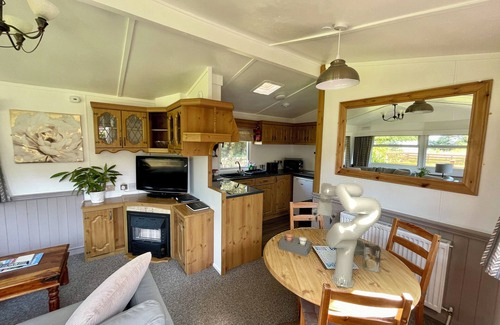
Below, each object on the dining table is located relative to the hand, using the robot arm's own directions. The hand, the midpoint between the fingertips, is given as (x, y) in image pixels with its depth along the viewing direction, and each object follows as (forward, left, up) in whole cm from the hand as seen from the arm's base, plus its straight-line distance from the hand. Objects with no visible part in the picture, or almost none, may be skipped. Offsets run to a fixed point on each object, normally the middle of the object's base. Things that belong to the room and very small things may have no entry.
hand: (323, 222), depth 155 cm
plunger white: (-2, +14, -22) cm, 26 cm away
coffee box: (+1, -33, -26) cm, 42 cm away
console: (-2, +19, -26) cm, 32 cm away
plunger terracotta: (-2, +25, -21) cm, 33 cm away
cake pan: (+24, -18, -26) cm, 40 cm away
